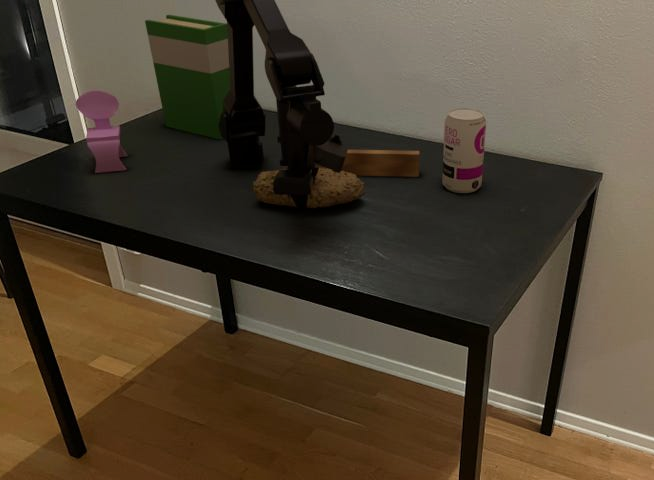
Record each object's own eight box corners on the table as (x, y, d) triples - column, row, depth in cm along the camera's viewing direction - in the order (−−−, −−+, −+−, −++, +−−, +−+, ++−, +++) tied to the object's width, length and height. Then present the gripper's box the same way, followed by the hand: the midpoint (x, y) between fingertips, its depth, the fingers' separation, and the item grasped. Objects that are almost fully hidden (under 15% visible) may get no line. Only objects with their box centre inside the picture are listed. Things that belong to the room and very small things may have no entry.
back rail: (297, 174, 151) (295, 151, 148) (298, 171, 153) (296, 148, 150) (418, 177, 151) (419, 154, 148) (419, 173, 153) (419, 150, 150)
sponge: (253, 215, 138) (343, 212, 130) (245, 174, 135) (337, 168, 127) (288, 201, 149) (373, 197, 141) (281, 163, 146) (368, 157, 138)
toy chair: (90, 174, 150) (70, 102, 141) (92, 159, 157) (73, 89, 148) (131, 170, 152) (114, 99, 143) (132, 155, 159) (116, 86, 150)
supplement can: (486, 182, 149) (492, 110, 140) (472, 197, 143) (477, 123, 134) (451, 175, 152) (454, 104, 143) (436, 189, 146) (438, 116, 137)
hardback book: (166, 126, 174) (144, 20, 160) (187, 117, 179) (168, 14, 165) (221, 139, 168) (204, 30, 153) (241, 130, 173) (227, 23, 158)
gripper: (337, 147, 113) (341, 235, 123) (347, 109, 128) (351, 190, 138) (267, 146, 113) (277, 234, 123) (286, 108, 128) (294, 189, 138)
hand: (303, 210), depth 130 cm, fingers closed
